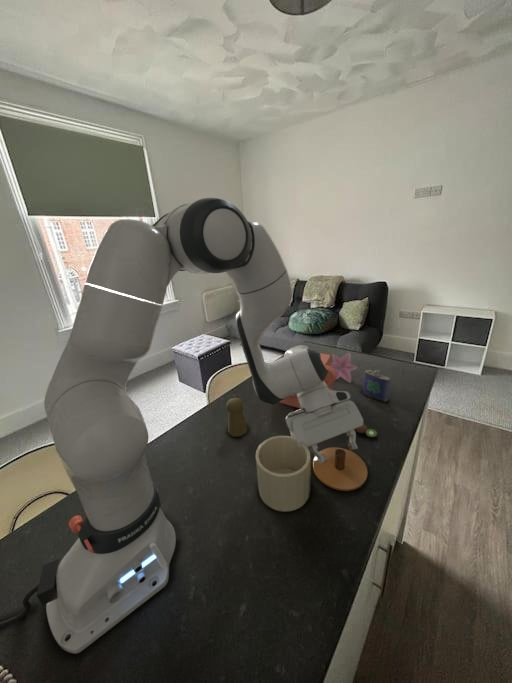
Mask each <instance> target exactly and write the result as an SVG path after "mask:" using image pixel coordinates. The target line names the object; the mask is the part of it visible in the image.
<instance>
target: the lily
mask: <svg viewBox="0 0 512 683" xmlns="http://www.w3.org/2000/svg"><path fill="white" fill-rule="evenodd" d="M351 356H352V355H351V352H347V353H345V354H344V355H342V356H341V357H339V356H338V355H336V354H335V353H332V361H331V367H332V368H334V370H335V371H336V373H337V377H336V380H338V379H339V378H342V379H344V380H345V381H346V382H348V383H350V384H351V383H352V375H351V372H352V371H355V370H357V369H358V366H357V365H354V364H352V363H351V359H352V358H351Z"/></svg>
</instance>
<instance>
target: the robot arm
mask: <svg viewBox="0 0 512 683" xmlns="http://www.w3.org/2000/svg"><path fill="white" fill-rule="evenodd" d="M178 272H187V273H191V274H197V275H199V274H223V273H225V274H226V275H227V276H228V278H230V280H231V284H232V285H233V287H234V289H235V291H236V293H237V296H238V298H239V311H238V312H237V313H236V315H235V325H236V330H237V333H238V338H239V341H240V344H241V348H242V350H243V354H244V357H245V360H246V363H247V366H248V368H249V372H250V375H251V378H252V385H253V386H252V387H253V389H254V392H255V394H256V396H257V397H258V399H259V400H260V401H262V402H263V403H266V404H268V405H275V404H277V403H279V401H281V400H283V399H285V398H287V397H289V396H292V395H295V394H297V398H298V401H299V403H300V406H301V408H302V409H301V408H298V409H296V410H294V411H290V412H289V413H287V415H286V416H285V420H284V421H285V425H286V427H287V429H288V430H289V434H290V437H294V438H295V439H296V441H297V444H296V448H298V449H300V448H301V446H300V443H299V442H300V441H302V442H303V443H304V444H305V445H306V446H307V448H308V449H309V451H310V453H311V454H313V455H314V457H315V456H316V457H317V458H318V461H319V463H320V464H323V463H325V462H327V459H326V456H325V454H323V455H322V454H320V453H319V452H320V451H319V450H318V449H319V446H318V444H320V443H323V442H325V441H327V440H330V439H332V438H335V437H338V436H340V435H343V434H346V436H347V437H348V440H349V441H348V443H346V445H347V447H348V450H349V451H351V452H353V451H355V450H358V448H359V447H358V445H357V442H356V441H357V440H356V438H357V432H356V431H355V429H356V428H358V427H361V426H363V424H364V418H363V416H362V414H361V412H360V410H359V409H358V406H357V405H356V403H355V402H354V401H352V400H351V394H350V392H348V390H347V391H346V390H333V391H331V390H329V388H328V386H327V384H326V383H325V382H324V379H325V377H326V375H327V373H328V371H327V370H326V368H325V366H324V364H323V362H322V360H321V356H320V353H321V352H320V351H317V350H315V349H312V348H310V347H308V346H307V345H305V344H299V345H295V346H293V347H290V348H289V349H288V350H285V352H284V354H283V357H280V358H281V359H280V358H277V359H276V360H273V361H269V362H266V361H265V358H264V354H263V350H262V347H261V345H260V344H261V343H260V340H261V338H262V336H263V335H264V334H265V333H266V332H267V330H269V328H270V327H271V326H272V325H273V324H274V323H276V322H277V321H278V320H279V319H280V318H282V316H283V315H284V314H285V313H286V311H287V310H288V308H289V306H290V304H291V301H292V299H293V295H294V290H293V289H294V288H293V284H292V280H291V277H290V274H289V272H288V269H287V267H286V263H285V262H284V260H283V257H282V255H281V253H280V251H279V249H278V247H277V245H276V243H275V242H274V240H273V239H272V236H270V233H269V232H268V231H267V229H266V227H264V226H263V225H262V224H261V223H260V222H257V221H251V220H248V219H247V218H246V217H245V215H244V214H243V212H242V211H241V210H240V209H239V208H238V207H237V206H236V205H235V204H233V203H232V202H230V201H228V200H225V199H222V198H219V197H218V198H217V197H205V198H204V197H203V198H200V199H198V200H195V201H194V202H189V203H183V204H182V205H179V206H178V207H175V208H174V209H172V210H171V211H169V212H167V213H165V214H163V215H162V216H161V217H160V218H159V219H157V220H156V221H155V222H154V223H153V224H149V223H147V222H145V221H142V220H138V219H134V218H133V219H131V218H124V219H118V220H116V221H114V222H112V223H111V224H110V225H109V226H108V227H107V228H106V231H105V233H104V234H103V236H102V238H101V240H100V242H99V244H98V246H97V248H96V250H95V252H94V255H93V258H92V260H91V263H90V266H89V268H88V271H87V275H86V278H85V282H84V285H83V289H82V292H81V296H80V299H79V302H78V307H77V310H76V314H75V317H74V321H73V323H72V324H73V325H72V328H71V332H70V334H69V337H68V340H67V342H66V344H65V347H64V348H63V351H62V352H61V355H60V356H59V360H58V362H57V364H56V367H55V369H54V371H53V374H52V377H51V379H50V381H49V383H48V385H47V388H46V391H45V396H44V399H43V406H44V412H45V415H46V418H47V421H48V425H49V430H50V433H51V437H52V441H53V444H54V447H55V451H56V453H57V456H58V458H59V459H60V462H61V464H62V466H63V469H64V470H65V472H66V475H67V477H68V478H69V480H70V482H71V484H72V486H73V488H74V490H75V491H76V494H77V496H78V498H79V501H80V503H81V506H82V508H83V511H84V513H85V519H84V520H83V518H82V516H81V515H74V516H72V517H71V519H70V520H69V522H68V527H69V528H70V529H71V532H72V533H73V534H77V536H78V538H77V539H76V540H75V542H74V543H73V545H72V546H71V548H70V549H69V550H68V551H67V553H66V554H65V555H64V556H63V558H62V559H61V558H60V557H58V558H56V559H54V560H51V561H49V562H46V563H44V564H42V569H41V573H40V578H39V582H38V584H37V585H36V586H34V587H33V588H31V589H30V590H29V591H28V592H27V593H26V594H25V596H24V597H23V600H22V606H23V607H24V609H23V610H22V611H21V612H20V613H18V614H17V615H16V616H13V617H12V618H8V619H6V620H3V621H1V622H0V629H1V628H3V627H5V626H8V625H9V624H11V623H14V622H16V621H18V620H20V619H22V618H24V617H25V616H27V614H28V613H29V612H30V610H31V608H32V605H31V602H30V600H29V599H30V598H31V597H32V596H33V595H35V594H36V597H37V599H38V600H39V602H40V604H41V606H45V609H46V610H45V612H46V617H47V622H48V626H49V629H50V632H51V634H52V637H53V639H54V640H55V641H56V642H55V643H57V645H58V646H59V647H60V648H61V649H62V650H64V651H66V652H67V653H70V654H74V655H76V654H79V653H81V652H83V651H84V650H85V649H86V648H88V647H89V646H90V645H92V644H93V643H94V642H96V641H97V640H98V639H99V638H101V637H102V636H103V635H104V634H106V633H107V632H109V631H110V630H111V629H113V627H115V626H116V625H118V624H119V623H120V622H121V621H123V620H124V619H125V618H126V617H127V616H129V615H130V614H132V613H133V612H134V611H135V610H137V609H138V608H139V607H141V606H142V605H143V604H144V603H146V602H147V601H148V600H150V599H151V598H152V597H153V596H154V595H156V594H157V593H159V592H160V591H161V590H162V589H164V588H165V587H166V586H167V584H168V582H169V579H170V578H169V577H170V564H171V560H172V558H173V556H174V553H175V549H176V543H177V535H176V534H177V533H176V531H175V527H173V525H172V523H171V522H170V521H169V520H168V519H167V517H166V516H165V514H164V512H163V510H162V503H161V500H160V499H161V497H160V494H159V490H158V487H157V486H156V484H155V482H153V480H152V477H151V472H150V469H149V465H148V462H147V458H146V457H147V456H146V450H147V447H148V444H149V432H148V428H147V425H146V421H145V418H144V416H143V414H142V411H141V409H140V407H139V406H138V404H136V403H135V402H134V400H133V399H132V398H131V397H130V396H129V394H128V393H127V383H128V380H129V378H130V375H131V374H132V372H133V370H134V369H135V367H136V365H137V363H138V362H139V361H140V360H141V359H143V357H145V356H147V354H148V353H149V351H150V350H151V347H152V343H153V340H154V336H155V332H156V330H157V327H158V323H159V319H160V316H161V312H162V309H163V305H164V302H165V298H166V294H167V289H168V286H169V285H170V283H171V281H172V279H173V278H174V276H175V275H176V274H177V273H178ZM154 584H155V585H154Z"/></svg>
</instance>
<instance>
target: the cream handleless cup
mask: <svg viewBox="0 0 512 683" xmlns="http://www.w3.org/2000/svg"><path fill="white" fill-rule="evenodd" d="M299 443H300V446H301V448H300V449H298V448H296V444H297V441H296V439H295V438H294V437H291V435H290V436H289V435H275V436H271V437H268V438H267V439H265V440H263V441H262V442H261V443H260V444H259V445H258V447H257V449H256V451H255V465H256V476H257V477H256V478H257V489H258V494H259V497H260V499H261V500H262V502H263V503H264V504H265V505H266V506H267V507H269V508H271V509H272V510H275V511H278V512H284V513H285V512H286V513H287V512H292V511H296V510H298V509H300V508H302V507H303V506H304V505H305V504H306V503H307V501H308V499H309V498H310V495H311V494H310V493H311V463H312V462H311V461H312V460H311V459H312V458H311V451H310V449H309V447H307V446H306V445H305V444H304V443H303V442H302V441H300V442H299Z"/></svg>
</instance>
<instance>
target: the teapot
mask: <svg viewBox="0 0 512 683" xmlns="http://www.w3.org/2000/svg"><path fill="white" fill-rule="evenodd" d="M319 353H320V356H321V360H322V362H323V364H324V366H325V368H326V370H327V371H328V373H327V375H326V377H325V379H324V382H325V383H326V384H327V386H328V388H329V390H331V391H334V389H333V388H332V387H331V386H332V385H333V384H334V383H335V382H336V380H337V379H336V377H337V373H336V371H335V370H334V368H332V367H331V363H332V354H327V353H323V352H319ZM281 358H282V357H280V358H279V359H281ZM278 403H279V404H283V405H287V406H290V407H294V408H298V409H302V408H301V406H300V403H299V401H298V398H297V394H295V395H292V396H289V397H287V398H285V399H283V400H281V401H279V402H278Z"/></svg>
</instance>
